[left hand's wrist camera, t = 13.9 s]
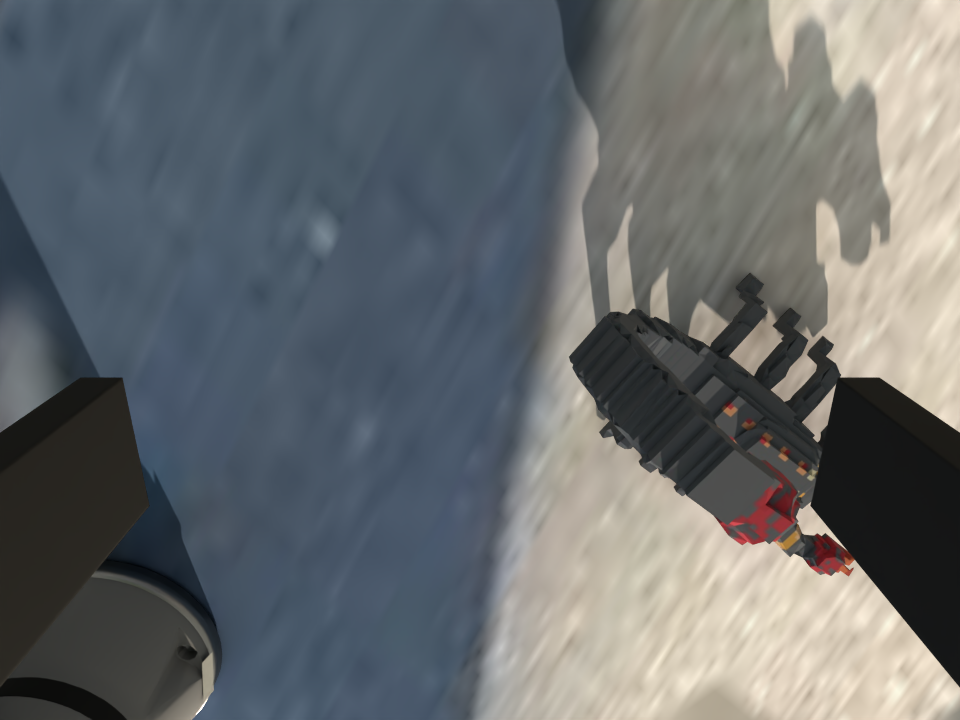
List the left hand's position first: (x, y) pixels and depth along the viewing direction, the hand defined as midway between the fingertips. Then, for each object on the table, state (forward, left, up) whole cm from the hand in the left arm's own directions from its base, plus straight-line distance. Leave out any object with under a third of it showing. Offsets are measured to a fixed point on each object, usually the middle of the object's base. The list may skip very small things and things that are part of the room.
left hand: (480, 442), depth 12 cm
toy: (-3, -19, -28) cm, 34 cm away
